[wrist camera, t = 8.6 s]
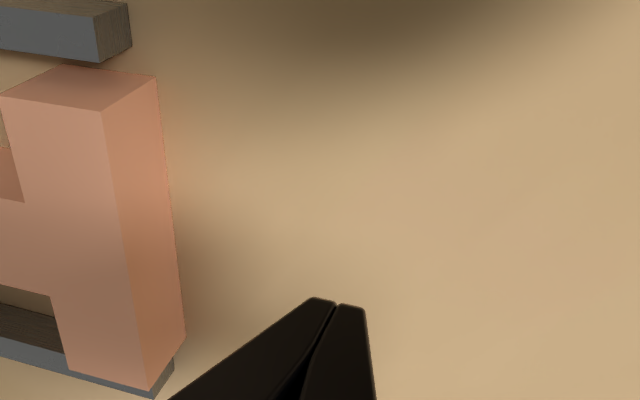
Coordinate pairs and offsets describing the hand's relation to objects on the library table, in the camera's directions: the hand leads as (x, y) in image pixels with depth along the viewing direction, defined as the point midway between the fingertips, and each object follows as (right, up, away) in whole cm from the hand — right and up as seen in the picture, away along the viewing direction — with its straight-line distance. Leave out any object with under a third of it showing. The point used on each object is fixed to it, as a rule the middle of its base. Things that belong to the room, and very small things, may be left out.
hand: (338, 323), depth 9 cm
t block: (-12, +2, +18) cm, 22 cm away
